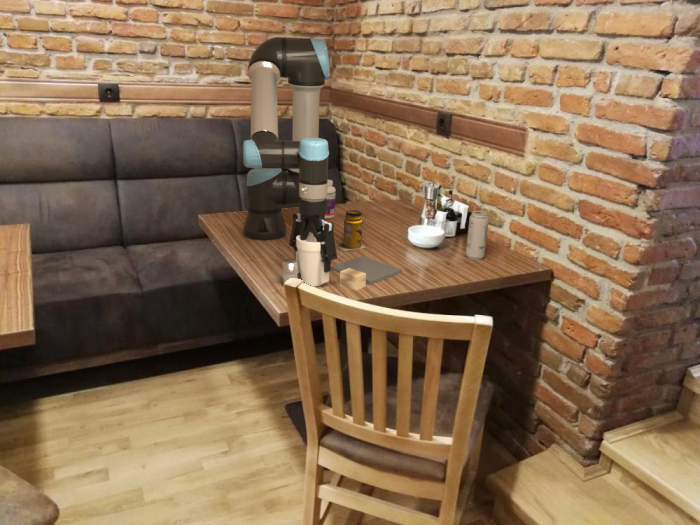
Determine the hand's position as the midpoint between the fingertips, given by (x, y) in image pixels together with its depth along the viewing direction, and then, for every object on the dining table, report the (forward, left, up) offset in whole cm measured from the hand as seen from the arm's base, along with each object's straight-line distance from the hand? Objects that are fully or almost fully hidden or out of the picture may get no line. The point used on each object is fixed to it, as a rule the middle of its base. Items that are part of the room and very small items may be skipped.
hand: (312, 277), depth 155 cm
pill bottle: (-47, +50, -2) cm, 69 cm away
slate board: (+4, +18, -2) cm, 19 cm away
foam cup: (0, 0, -2) cm, 2 cm away
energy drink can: (+19, +54, -2) cm, 57 cm away
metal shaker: (-2, -6, -2) cm, 7 cm away
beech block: (+9, +7, -2) cm, 12 cm away
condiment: (-15, +31, -2) cm, 34 cm away
